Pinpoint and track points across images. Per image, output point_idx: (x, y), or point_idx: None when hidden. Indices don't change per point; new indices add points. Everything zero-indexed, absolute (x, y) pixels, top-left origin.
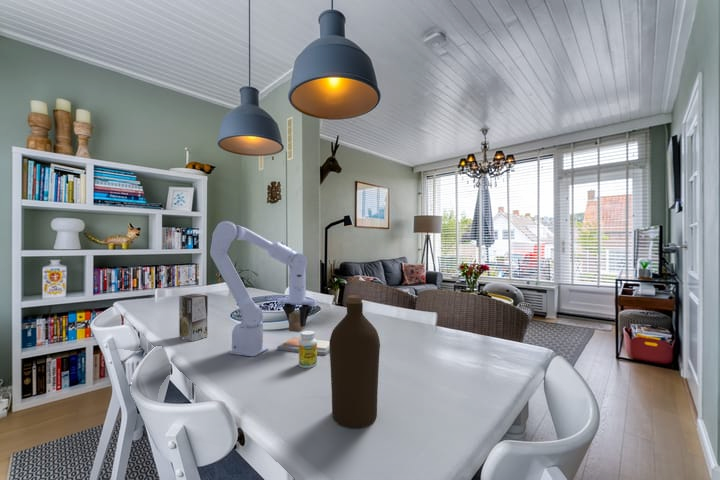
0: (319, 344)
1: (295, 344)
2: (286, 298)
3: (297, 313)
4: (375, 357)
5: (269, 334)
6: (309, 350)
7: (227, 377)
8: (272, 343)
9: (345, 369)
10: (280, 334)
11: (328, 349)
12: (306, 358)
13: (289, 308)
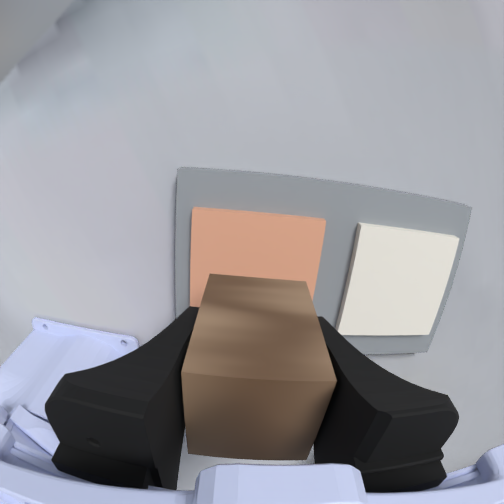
0: (398, 298)
1: None
2: (7, 490)
3: (269, 437)
4: None
5: (13, 125)
6: None
7: (186, 486)
8: (101, 258)
9: None
10: (59, 98)
11: (436, 320)
12: None
13: (173, 486)
